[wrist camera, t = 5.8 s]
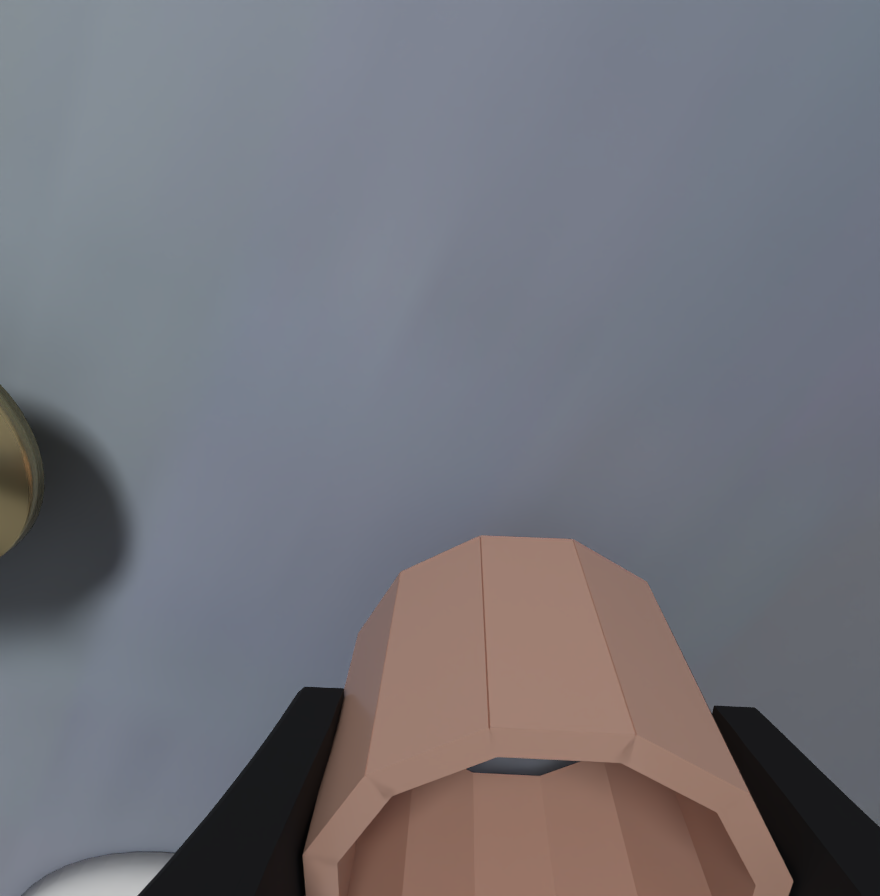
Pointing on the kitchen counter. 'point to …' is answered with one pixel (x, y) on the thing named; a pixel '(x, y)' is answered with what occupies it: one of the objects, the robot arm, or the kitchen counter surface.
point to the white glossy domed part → (102, 876)
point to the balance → (17, 475)
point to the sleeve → (530, 742)
